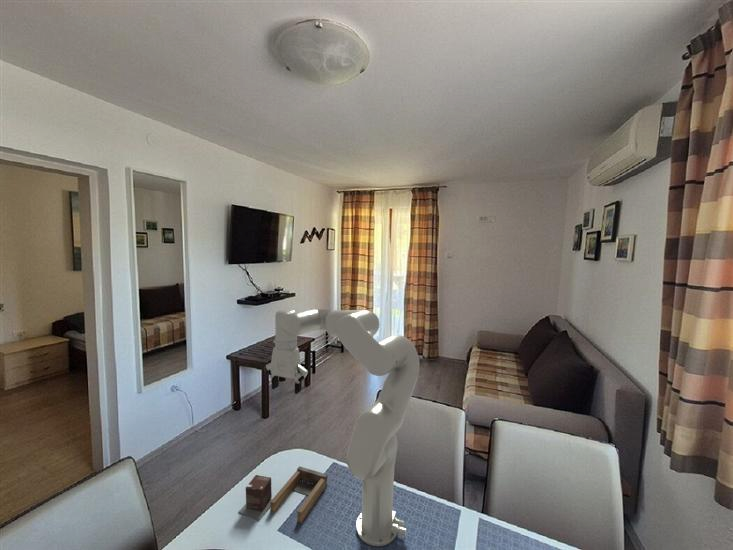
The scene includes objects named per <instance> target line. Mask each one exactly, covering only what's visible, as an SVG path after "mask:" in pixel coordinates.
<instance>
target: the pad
mask: <svg viewBox="0 0 733 550" xmlns="http://www.w3.org/2000/svg"><path fill="white" fill-rule="evenodd" d="M272 499H273V498H271V499H270V501H271V500H272ZM270 501H269V502H268V504H267V505H266V507H265V508H264V510H263V511H259V510H254V509H248V508H246V503H245V504H244V505H243V506H242V507H241V509H239V510H238V514H240V515H244V516H247V517H249V518H251V519H254V520H257V521H260V520H261V519H262V518H263V516H264V515H265V514H266V513H267V512H268V510H270Z"/></svg>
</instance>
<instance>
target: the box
mask: <svg viewBox="0 0 733 550" xmlns="http://www.w3.org/2000/svg"><path fill="white" fill-rule="evenodd" d="M272 493H273V492H272V477H270V476H269V477H268V476H263V475H258V474H255V475H254V477H253V478H252V479H251V480H250V482H249V483H248V484H247V485H246V487H245V504H246V508H248V509H254V510H259V511H263V510H264V508H265V507H266V505H267V504H268V502H269V501H270V499H273V498H272Z"/></svg>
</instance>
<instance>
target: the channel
mask: <svg viewBox="0 0 733 550" xmlns="http://www.w3.org/2000/svg"><path fill="white" fill-rule="evenodd" d="M327 486H328V474H327V473H323V472H321V471H318V470H313V469H310V468H306V467H303V466H301V465H300V466H298V468H297V469H296V471H295V472H294V473H293V475H291V477H290V478H289V479H288V480H287V481H286V483H285V484H284V485H283V486H282V487H281V488H280V490H279V491H278V492H277V493H276V494H275V495H274V496H273V498H271V499H272V500H271V501H270V508H269V510H270V512H271V513H273V514H275V513H276V512H277V511H278V509H280V507H281V505H283V503H284V502H285V500H286V499H287V498H288V497H289V495H290V494H291V493H292V491H293V492H296V493H300V494H302V495H306V496H307V497H306V499H304V501H303V503H302V504H301V506H300V507H299V508H298V510H297V513H296V514H297V516H296V517H297V523H300V524H303V522H304V520H305V519H306V517H307V516H308V514H309V513H310V511H311V510H312V509H313V507H314V505H315V504H316V502H317V501H318V499H319V498H320V497H321V495H322V494H323V492H324V490H325V489H326V488H327Z"/></svg>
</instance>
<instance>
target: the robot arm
mask: <svg viewBox="0 0 733 550" xmlns="http://www.w3.org/2000/svg"><path fill="white" fill-rule="evenodd" d="M274 316H275V320H274V322H275V324H274V325H275V326H274V327H275V329H274V330H275V334H274V337H275V338H274V339H273V340H272V342H273V344H274V345H275V346H274V347H273V349H272V354H271V361H270V362H269V363H267V364H265V368H266V371H267V373H268V375H269V378H270V380H271V390H275V389H277V388H278V387H279V386H280V385H279V384H280V381H279V377H281V378H286V379H287V378H288V379H293V380H294V382H295V383H294V394H295V395H297V394H299V393H300V392H301V391H302V383H303V381H304V379H306V378H307V375H308V373H309V371H308V369H306V368H305V367H304V366H302V365H301V364H302V363H301V355H300V349H299V347H298V336H301V335H304V334H308V333H311V332H314V331H320V330H322V331H324V330H325V331H326V333H327V334H328V335H329V336H330V337H332V338H338V340H339V342H341V345H343V347H344V348H345V349H346V350H347V351H348V353H349V354H351V356H352V357H354V360H356V361H357V363H359V364H360V365H361V367H362V368H364V370H366V371H367V372H368V373H369V374H371V375H373V376H377V377H381V376H386V378H385V380H384V382H383V385H382V388H381V391H380V393H379V395H378V398H377V399H376V401H375V402H374V403H373V404H371V405H370V406H369V407H368V408H366V409H365V410H364V411H363V412H362V413H361V414H360V416H359V417H358V419H357V421H356V423H355V425H354V430H353V431H352V436H351V438H350V442H349V444H348V448H347V452H346V462H347V463H346V464H347V466H348V469H349V471H350V473H351V474H352V476H353V477H355V478H356V479H359V480H361V513H360V514H359V515H358V517H357V519H356V523H355V524H356V526H355V529H356V533H357V535H358V537H359V538H360V539H361V541H362V542H364V543H366V544H367V545H369V546H372V547H383V546H388V545H389V544H390V543H392V542H393V541H395V540H394V539H396V536H397V535H398V534H399V535H400V536H402V537H406V536H407V527H404V526H405V521H404V520H402V519H398V518H397V517H396V511H394V482H395V481H394V480H395V479H394V478H395V463H396V458H397V453H398V439H397V435H396V433H397V432H398V430H400V428H401V427H402V425H403V422H404V419H405V416H406V412H407V411H408V408H409V404H410V403H411V399H412V395H413V393H414V390H415V387H416V385H417V381H418V378H419V373H420V359H419V358H420V357H419V353H418V351H417V348H416V347H415V345H414V343H413V342H412V341H411V340H410V339H409V338H407V337H406V336H403V335H399V334H396V335H394V334H393V335H390V336H388V337H385V338H383V339H381V340H379V341H377V340H376V339H375V338H374V336H375V335H376V334H377V332H378V331H379V329H380V319H379V318H378V316H377V314H376V313H374V312H373V311H371V310H367V309H366V310H365V309H364V310H363V309H362V310H361V309H360V310H359V309H358V310H356V309H353V310H352V309H349V310H347V309H346V310H340V309H339V310H337V309H331V308H317V309H307V310H305V311H304V310H303V311H300V312H297V311H296V310H294V309H291V308H286V309H285V308H284V309H279V310H277V311H276V312H275V315H274ZM301 373H302V374H301Z"/></svg>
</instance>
